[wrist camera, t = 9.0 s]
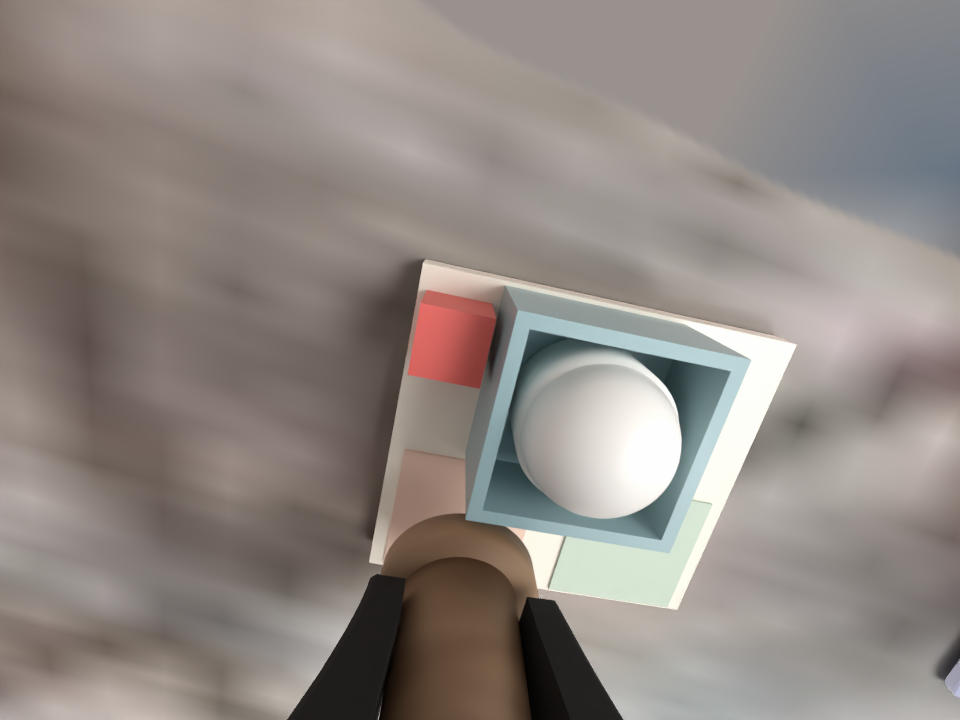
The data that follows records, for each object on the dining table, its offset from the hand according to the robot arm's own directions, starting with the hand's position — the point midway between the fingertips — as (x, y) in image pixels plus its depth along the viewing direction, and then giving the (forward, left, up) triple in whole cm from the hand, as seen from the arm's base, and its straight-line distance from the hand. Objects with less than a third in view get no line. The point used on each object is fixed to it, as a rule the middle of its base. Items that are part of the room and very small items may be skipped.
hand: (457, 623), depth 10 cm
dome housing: (-2, -4, -3) cm, 6 cm away
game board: (-3, -2, -4) cm, 6 cm away
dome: (-2, -4, -3) cm, 5 cm away
